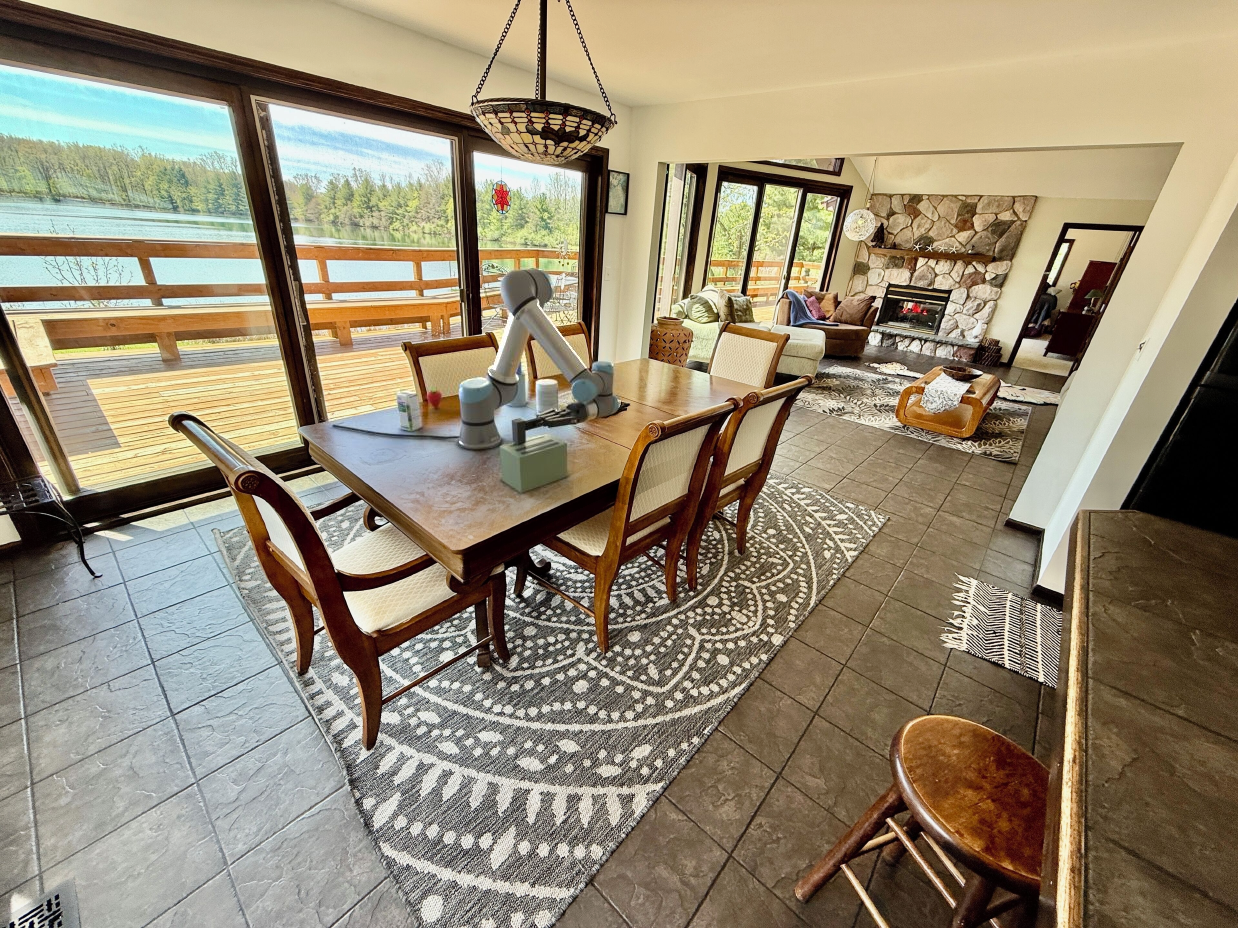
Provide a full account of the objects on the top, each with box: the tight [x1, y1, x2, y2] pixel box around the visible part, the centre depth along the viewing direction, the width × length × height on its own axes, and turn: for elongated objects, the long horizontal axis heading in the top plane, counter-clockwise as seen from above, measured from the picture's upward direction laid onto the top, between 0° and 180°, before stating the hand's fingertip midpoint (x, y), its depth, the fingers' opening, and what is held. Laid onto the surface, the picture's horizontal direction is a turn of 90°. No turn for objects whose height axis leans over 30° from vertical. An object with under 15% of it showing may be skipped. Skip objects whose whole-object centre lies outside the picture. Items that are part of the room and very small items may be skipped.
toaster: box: [499, 432, 568, 494], centre depth 154 cm, size 18×11×12 cm, turn 134°
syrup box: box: [395, 390, 423, 432], centre depth 187 cm, size 6×6×14 cm
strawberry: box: [426, 387, 443, 409], centre depth 211 cm, size 6×8×10 cm
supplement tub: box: [535, 378, 559, 415], centre depth 209 cm, size 10×10×15 cm
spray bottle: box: [506, 360, 527, 407], centre depth 218 cm, size 9×9×25 cm
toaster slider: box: [511, 417, 527, 445], centre depth 150 cm, size 3×3×8 cm
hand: (523, 426), depth 150 cm, fingers closed
